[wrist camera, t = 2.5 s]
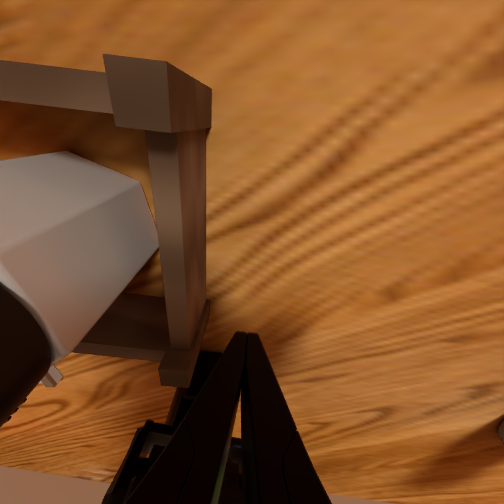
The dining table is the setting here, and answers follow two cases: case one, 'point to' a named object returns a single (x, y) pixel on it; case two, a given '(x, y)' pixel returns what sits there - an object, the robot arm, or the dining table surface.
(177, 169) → the brown u-shaped frame
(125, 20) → the dining table surface
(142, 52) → the dining table surface
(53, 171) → the jar
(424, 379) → the dining table surface
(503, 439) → the water bottle
